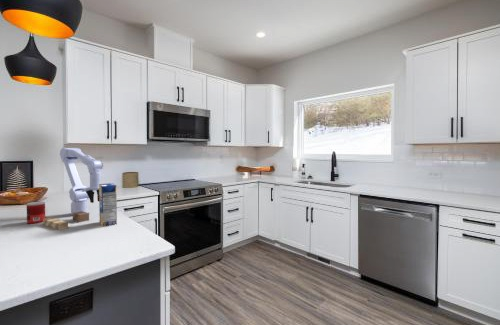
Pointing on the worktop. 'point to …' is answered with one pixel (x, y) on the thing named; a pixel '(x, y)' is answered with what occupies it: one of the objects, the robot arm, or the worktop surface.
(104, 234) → the worktop surface
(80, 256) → the worktop surface
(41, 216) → the canned food
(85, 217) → the walnut block
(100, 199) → the beverage box
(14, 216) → the worktop surface
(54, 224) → the tan faceted bar
